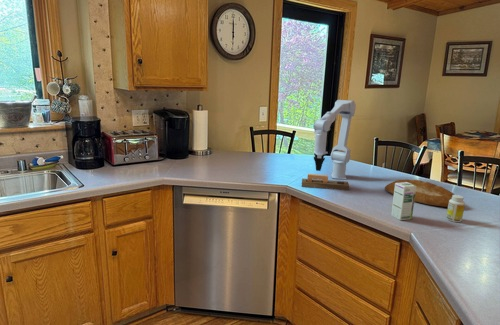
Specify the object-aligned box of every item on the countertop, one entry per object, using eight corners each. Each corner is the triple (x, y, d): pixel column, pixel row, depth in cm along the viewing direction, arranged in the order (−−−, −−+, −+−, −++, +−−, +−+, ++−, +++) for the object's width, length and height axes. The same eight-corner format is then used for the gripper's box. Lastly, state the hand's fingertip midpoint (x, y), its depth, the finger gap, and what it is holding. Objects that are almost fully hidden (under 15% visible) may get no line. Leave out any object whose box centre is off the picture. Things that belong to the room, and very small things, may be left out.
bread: (392, 186, 180) (394, 170, 178) (467, 205, 155) (471, 186, 153) (377, 193, 168) (379, 176, 166) (456, 214, 143) (460, 195, 141)
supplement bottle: (463, 220, 137) (467, 196, 135) (459, 224, 133) (464, 199, 131) (447, 216, 141) (452, 193, 138) (444, 219, 137) (448, 196, 134)
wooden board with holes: (301, 182, 181) (302, 178, 180) (347, 186, 178) (347, 181, 177) (301, 186, 174) (301, 182, 174) (349, 190, 171) (349, 185, 170)
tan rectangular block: (307, 184, 179) (307, 173, 177) (327, 186, 177) (328, 175, 175) (306, 185, 176) (307, 174, 175) (327, 187, 174) (328, 176, 173)
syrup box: (400, 220, 135) (405, 186, 131) (390, 215, 140) (395, 182, 137) (412, 219, 136) (417, 185, 133) (402, 214, 142) (406, 181, 138)
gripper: (328, 146, 163) (326, 173, 167) (328, 141, 177) (326, 166, 180) (314, 145, 165) (312, 171, 168) (314, 140, 178) (312, 165, 182)
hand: (318, 168), depth 174 cm, fingers open, 7 cm apart
